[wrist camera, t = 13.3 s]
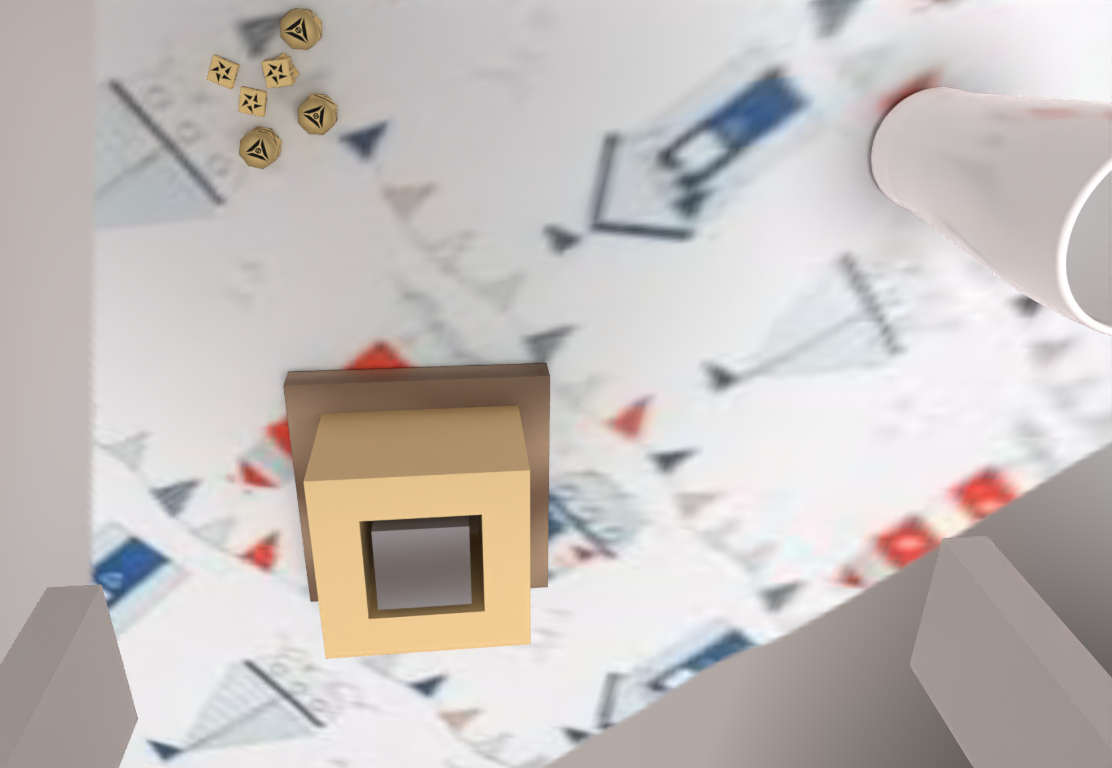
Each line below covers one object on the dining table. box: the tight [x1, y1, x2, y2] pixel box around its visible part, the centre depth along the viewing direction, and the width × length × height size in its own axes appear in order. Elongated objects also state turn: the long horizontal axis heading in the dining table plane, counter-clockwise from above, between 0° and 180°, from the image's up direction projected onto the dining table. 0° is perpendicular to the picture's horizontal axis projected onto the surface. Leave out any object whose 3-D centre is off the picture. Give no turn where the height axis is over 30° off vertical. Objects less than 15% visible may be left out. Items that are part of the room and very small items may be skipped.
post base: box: [283, 363, 550, 610], centre depth 41 cm, size 12×12×8 cm
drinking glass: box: [871, 87, 1112, 335], centre depth 34 cm, size 7×7×15 cm
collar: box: [304, 405, 530, 659], centre depth 41 cm, size 9×9×6 cm
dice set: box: [207, 9, 337, 169], centre depth 36 cm, size 5×5×2 cm
